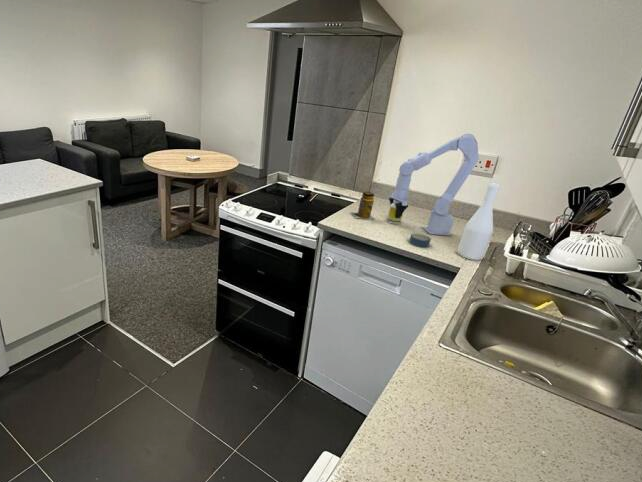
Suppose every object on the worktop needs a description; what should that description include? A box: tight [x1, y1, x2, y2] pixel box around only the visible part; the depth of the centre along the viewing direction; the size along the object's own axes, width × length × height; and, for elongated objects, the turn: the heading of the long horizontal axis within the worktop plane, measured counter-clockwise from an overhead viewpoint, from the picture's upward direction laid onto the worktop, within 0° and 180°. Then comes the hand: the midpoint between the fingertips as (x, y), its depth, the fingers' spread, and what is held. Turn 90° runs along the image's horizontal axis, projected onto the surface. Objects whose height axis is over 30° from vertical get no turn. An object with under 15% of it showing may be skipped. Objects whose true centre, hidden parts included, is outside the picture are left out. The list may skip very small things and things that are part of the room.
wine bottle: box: [457, 182, 501, 261], centre depth 152 cm, size 10×10×30 cm
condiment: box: [351, 191, 375, 220], centre depth 190 cm, size 7×8×12 cm
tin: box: [408, 233, 431, 248], centre depth 165 cm, size 8×8×3 cm
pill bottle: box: [386, 199, 403, 225], centre depth 186 cm, size 6×6×11 cm
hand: (395, 215), depth 187 cm, fingers closed on pill bottle, 6 cm apart
